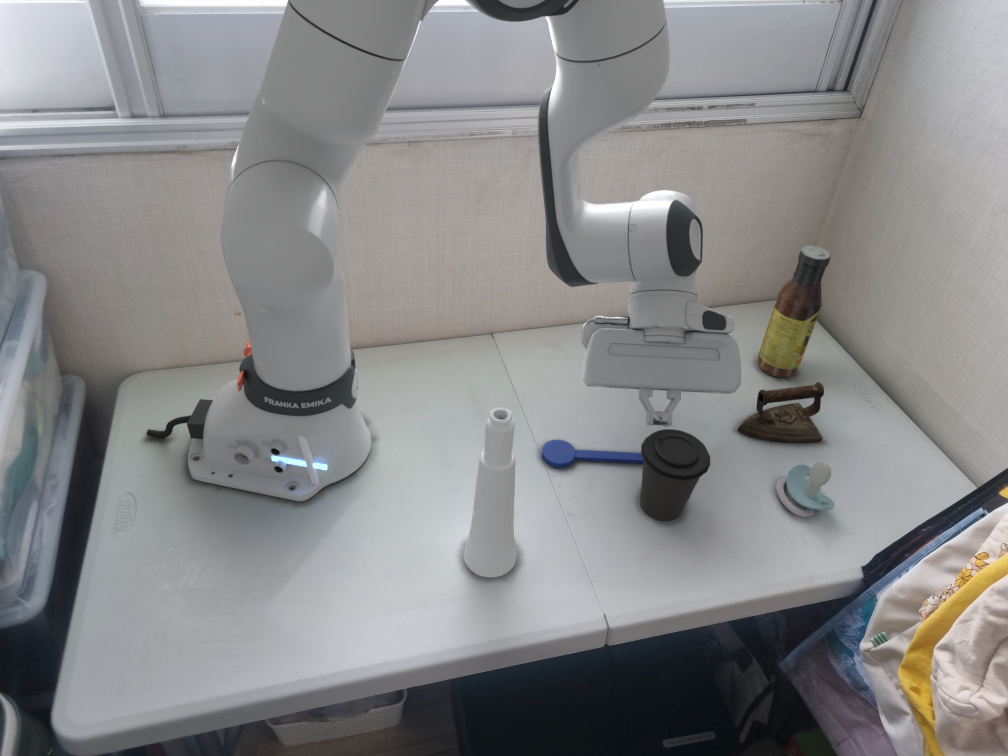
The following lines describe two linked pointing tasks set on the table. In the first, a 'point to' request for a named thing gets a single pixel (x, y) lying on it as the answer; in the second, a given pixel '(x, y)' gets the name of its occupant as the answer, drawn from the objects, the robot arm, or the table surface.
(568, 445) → the spoon
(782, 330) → the sauce bottle
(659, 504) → the coffee cup
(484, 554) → the cosmetic bottle
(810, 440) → the clothes iron
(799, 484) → the pacifier
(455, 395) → the table surface
